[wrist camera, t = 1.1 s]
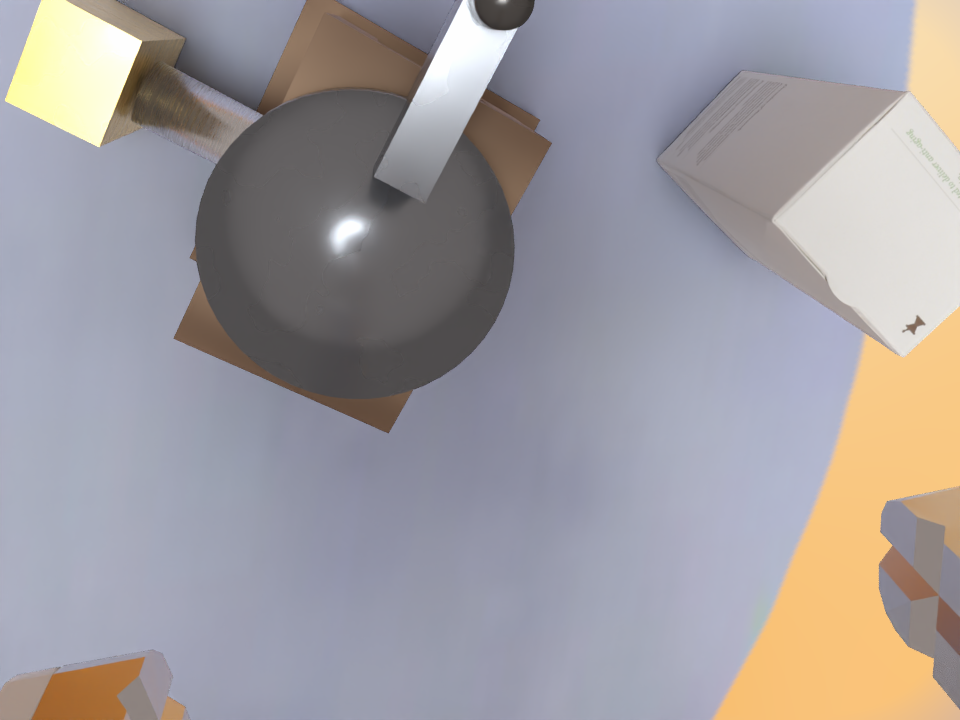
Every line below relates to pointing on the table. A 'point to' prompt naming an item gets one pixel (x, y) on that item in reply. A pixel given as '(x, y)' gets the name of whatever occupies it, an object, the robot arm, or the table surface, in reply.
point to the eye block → (385, 66)
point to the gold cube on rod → (119, 80)
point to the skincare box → (833, 196)
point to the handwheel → (366, 224)
